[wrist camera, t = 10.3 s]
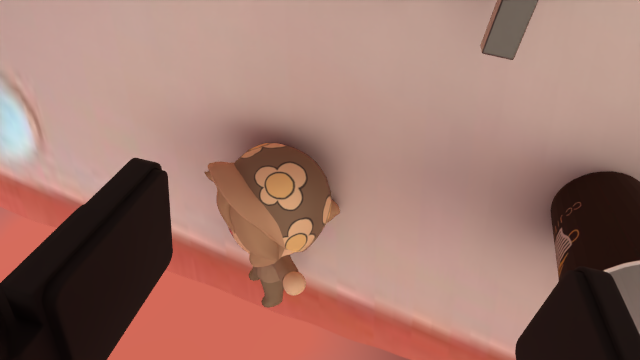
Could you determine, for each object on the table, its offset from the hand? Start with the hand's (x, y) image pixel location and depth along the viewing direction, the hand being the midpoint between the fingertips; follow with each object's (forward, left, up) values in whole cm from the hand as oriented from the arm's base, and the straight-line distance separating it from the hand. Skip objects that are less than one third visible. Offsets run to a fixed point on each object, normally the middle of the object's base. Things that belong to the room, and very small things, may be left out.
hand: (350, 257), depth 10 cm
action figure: (-6, -18, -22) cm, 29 cm away
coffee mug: (+17, -12, -22) cm, 30 cm away
